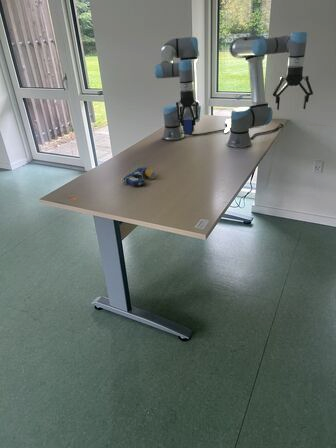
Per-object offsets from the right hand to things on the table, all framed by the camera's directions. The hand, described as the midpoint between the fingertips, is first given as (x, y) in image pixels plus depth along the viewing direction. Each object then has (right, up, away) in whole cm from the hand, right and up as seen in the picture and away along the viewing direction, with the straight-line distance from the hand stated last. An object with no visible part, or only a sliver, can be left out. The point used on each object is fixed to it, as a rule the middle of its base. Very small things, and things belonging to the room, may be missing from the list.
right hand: (290, 109), depth 182 cm
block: (-55, -7, +20) cm, 59 cm away
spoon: (-18, +14, +80) cm, 83 cm away
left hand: (-55, -6, +20) cm, 58 cm away
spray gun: (-82, -38, +5) cm, 91 cm away
